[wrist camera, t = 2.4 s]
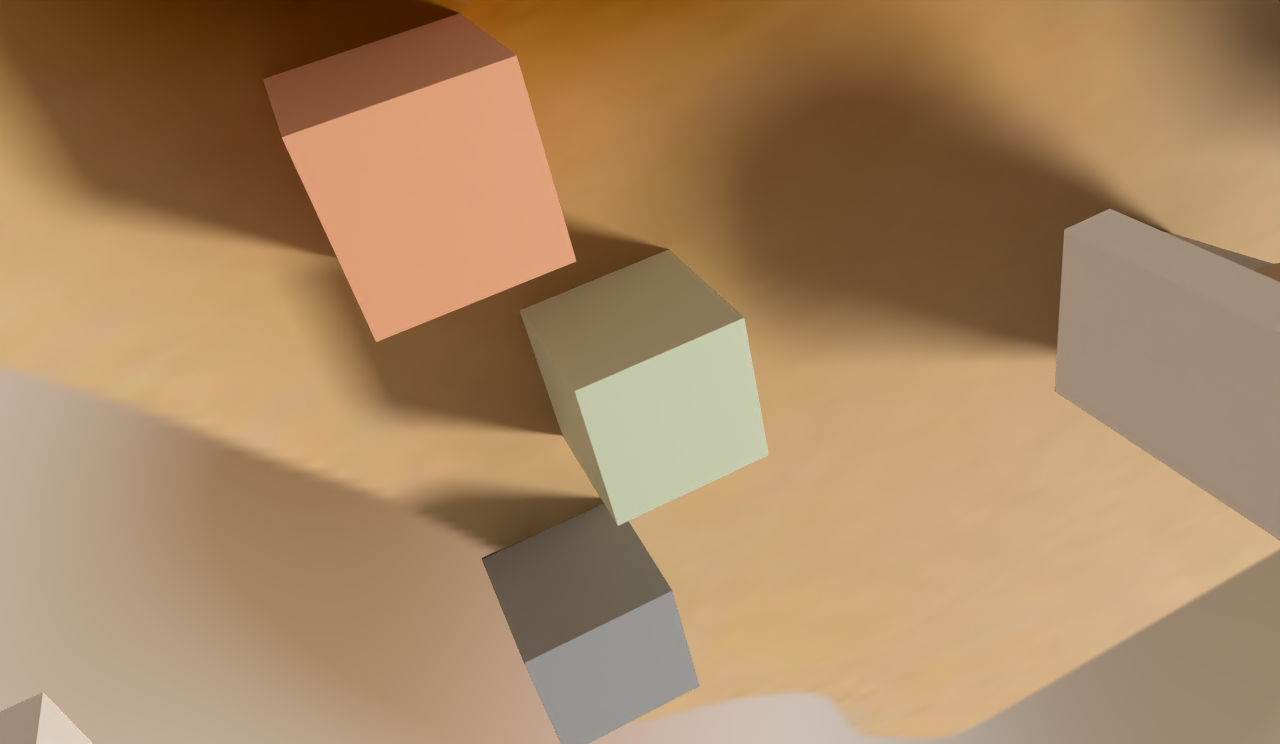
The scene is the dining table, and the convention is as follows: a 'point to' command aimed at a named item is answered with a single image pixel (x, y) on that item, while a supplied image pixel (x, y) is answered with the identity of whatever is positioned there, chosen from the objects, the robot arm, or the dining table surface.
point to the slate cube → (592, 624)
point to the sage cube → (649, 382)
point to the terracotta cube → (424, 170)
